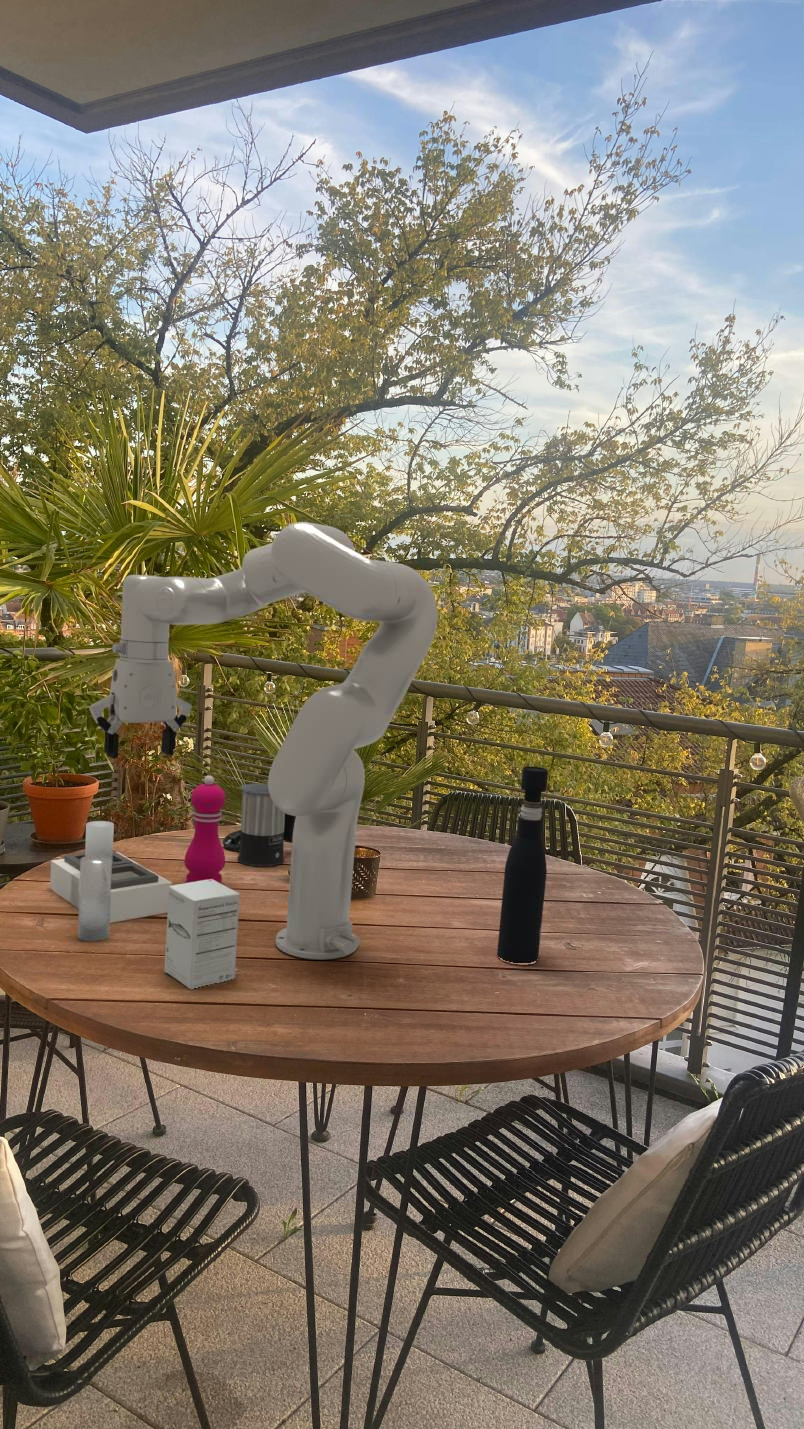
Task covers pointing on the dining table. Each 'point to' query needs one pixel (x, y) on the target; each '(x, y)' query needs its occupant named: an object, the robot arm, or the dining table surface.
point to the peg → (94, 898)
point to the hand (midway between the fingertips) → (140, 755)
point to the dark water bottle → (525, 877)
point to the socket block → (113, 878)
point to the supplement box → (201, 933)
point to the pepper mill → (206, 834)
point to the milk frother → (260, 829)
